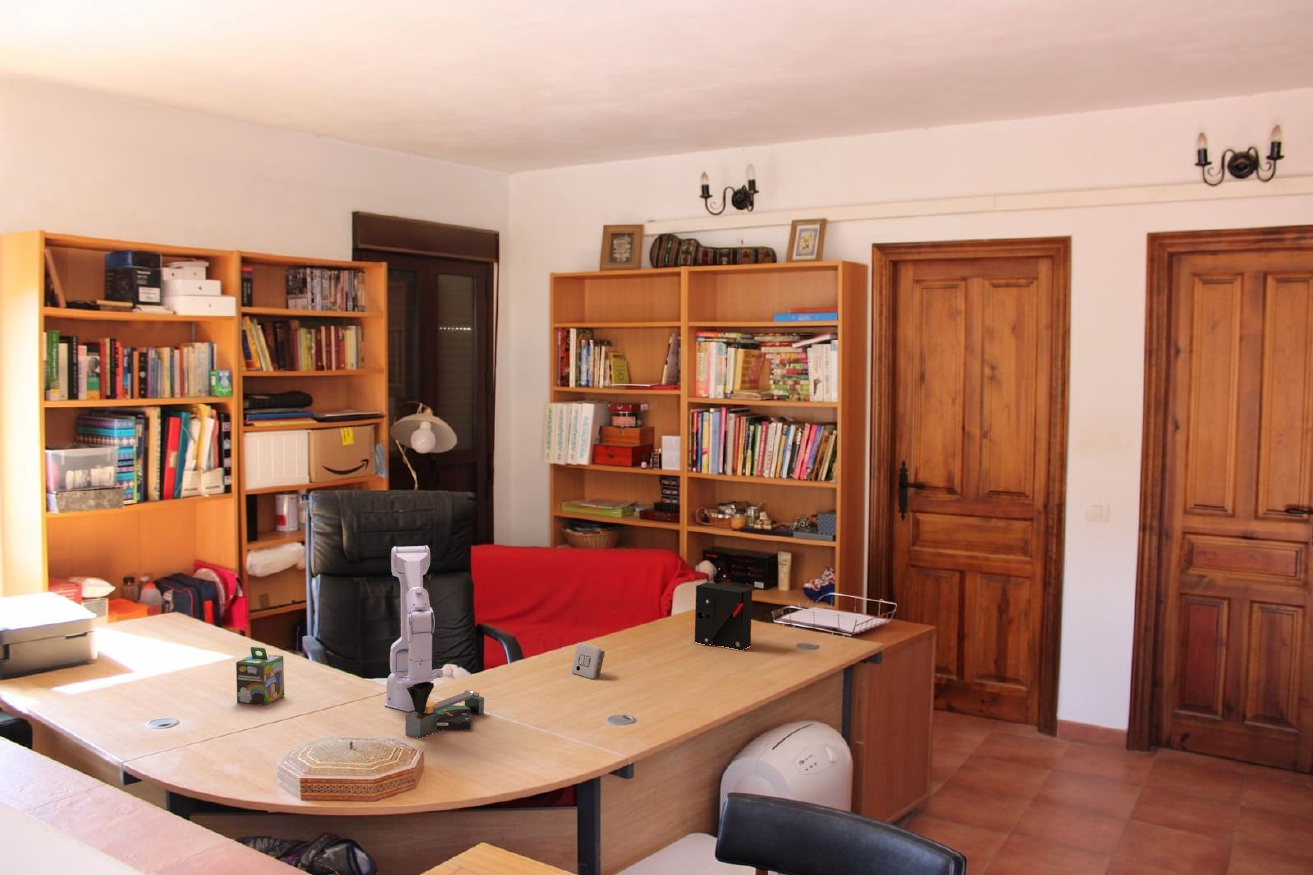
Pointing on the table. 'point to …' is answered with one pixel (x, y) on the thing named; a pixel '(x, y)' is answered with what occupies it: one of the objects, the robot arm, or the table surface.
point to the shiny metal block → (427, 723)
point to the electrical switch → (588, 661)
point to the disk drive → (454, 718)
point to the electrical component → (723, 615)
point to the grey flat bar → (455, 700)
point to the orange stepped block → (430, 707)
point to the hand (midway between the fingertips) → (419, 711)
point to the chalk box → (260, 678)
